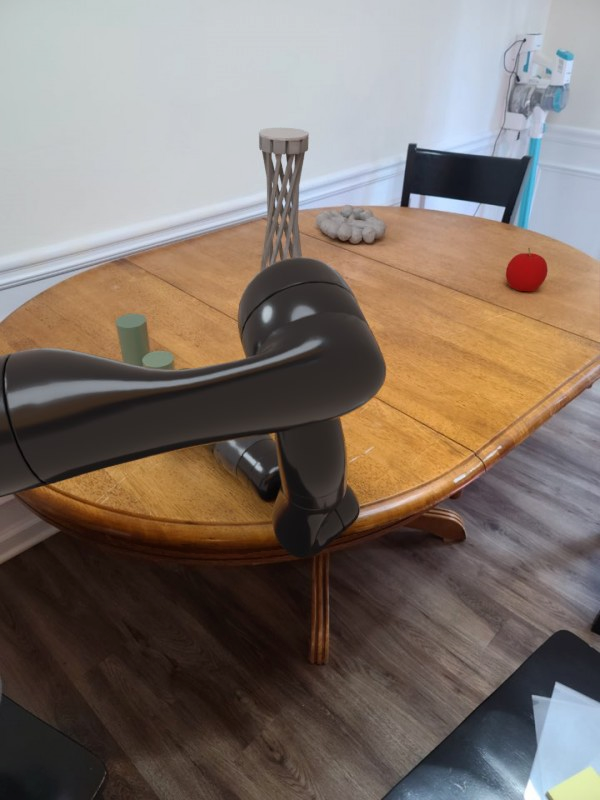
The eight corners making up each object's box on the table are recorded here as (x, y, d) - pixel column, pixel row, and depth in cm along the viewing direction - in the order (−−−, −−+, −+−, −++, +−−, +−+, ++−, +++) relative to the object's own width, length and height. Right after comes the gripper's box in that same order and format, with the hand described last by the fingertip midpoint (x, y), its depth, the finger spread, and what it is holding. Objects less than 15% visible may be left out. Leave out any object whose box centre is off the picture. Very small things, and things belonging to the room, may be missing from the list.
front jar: (158, 416, 93) (151, 370, 88) (144, 401, 96) (136, 356, 91) (184, 405, 96) (179, 360, 90) (170, 391, 99) (164, 347, 93)
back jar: (134, 390, 99) (123, 330, 92) (121, 378, 102) (110, 318, 95) (159, 381, 101) (151, 321, 94) (147, 369, 104) (138, 310, 97)
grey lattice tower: (315, 309, 126) (324, 140, 105) (255, 312, 124) (252, 140, 103) (305, 283, 136) (311, 125, 116) (250, 285, 135) (246, 125, 114)
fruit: (531, 280, 142) (542, 241, 136) (548, 295, 135) (560, 255, 129) (496, 280, 141) (506, 242, 135) (511, 296, 134) (522, 256, 128)
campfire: (401, 234, 166) (404, 214, 163) (358, 253, 153) (360, 232, 150) (343, 216, 178) (344, 197, 174) (298, 232, 165) (299, 212, 161)
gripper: (280, 403, 79) (218, 354, 89) (191, 442, 71) (134, 384, 81) (280, 444, 83) (221, 392, 93) (195, 485, 76) (141, 424, 86)
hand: (180, 389), depth 87 cm, fingers open, 8 cm apart
